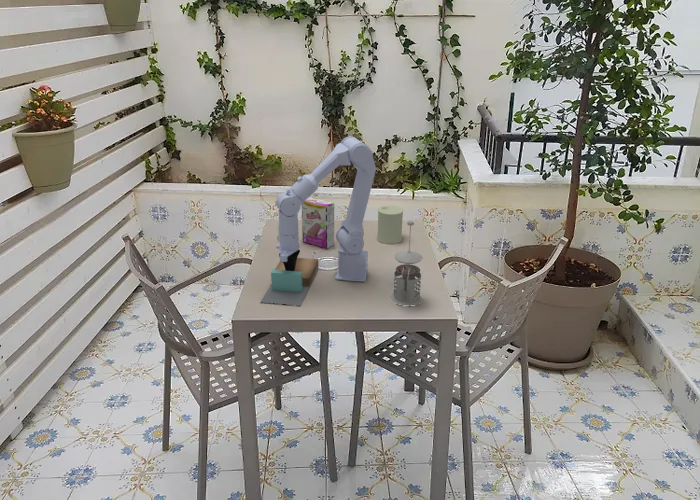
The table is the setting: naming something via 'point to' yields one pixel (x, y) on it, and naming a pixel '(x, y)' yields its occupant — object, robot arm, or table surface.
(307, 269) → the deck
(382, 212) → the can
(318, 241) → the candy bar box
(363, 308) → the table surface
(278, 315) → the table surface
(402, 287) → the french press
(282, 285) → the teal rectangular block
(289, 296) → the mat
